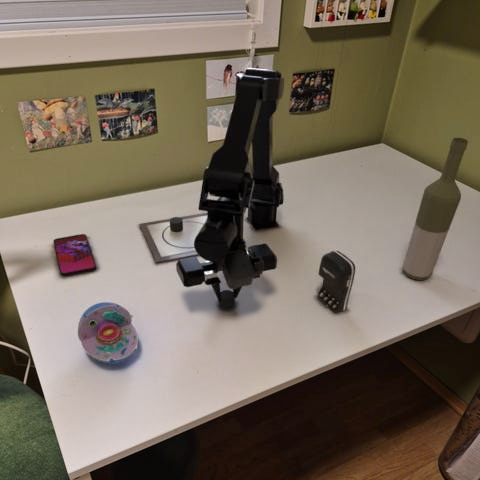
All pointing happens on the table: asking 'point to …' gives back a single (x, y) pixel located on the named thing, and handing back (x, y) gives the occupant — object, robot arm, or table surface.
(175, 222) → the dot
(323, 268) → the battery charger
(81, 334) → the cell model
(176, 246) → the board
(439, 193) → the bottle
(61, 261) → the smartphone
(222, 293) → the dot
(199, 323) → the table surface
